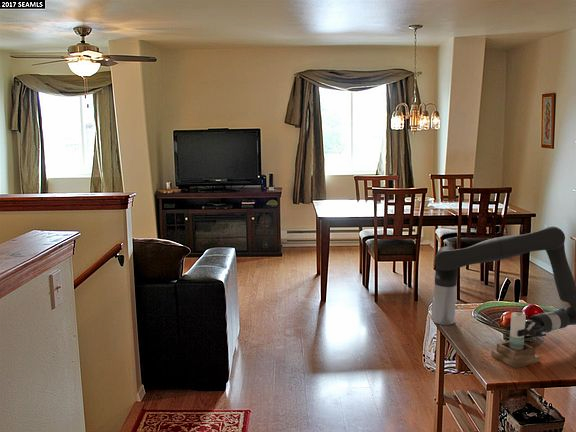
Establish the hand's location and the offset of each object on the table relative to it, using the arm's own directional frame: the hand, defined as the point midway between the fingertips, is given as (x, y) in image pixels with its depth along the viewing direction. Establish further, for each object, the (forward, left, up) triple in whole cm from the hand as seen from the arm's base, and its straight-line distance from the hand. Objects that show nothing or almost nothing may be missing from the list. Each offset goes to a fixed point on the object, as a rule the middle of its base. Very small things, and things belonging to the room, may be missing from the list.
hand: (512, 331), depth 215 cm
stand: (0, +3, -11) cm, 12 cm away
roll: (0, +3, -8) cm, 8 cm away
